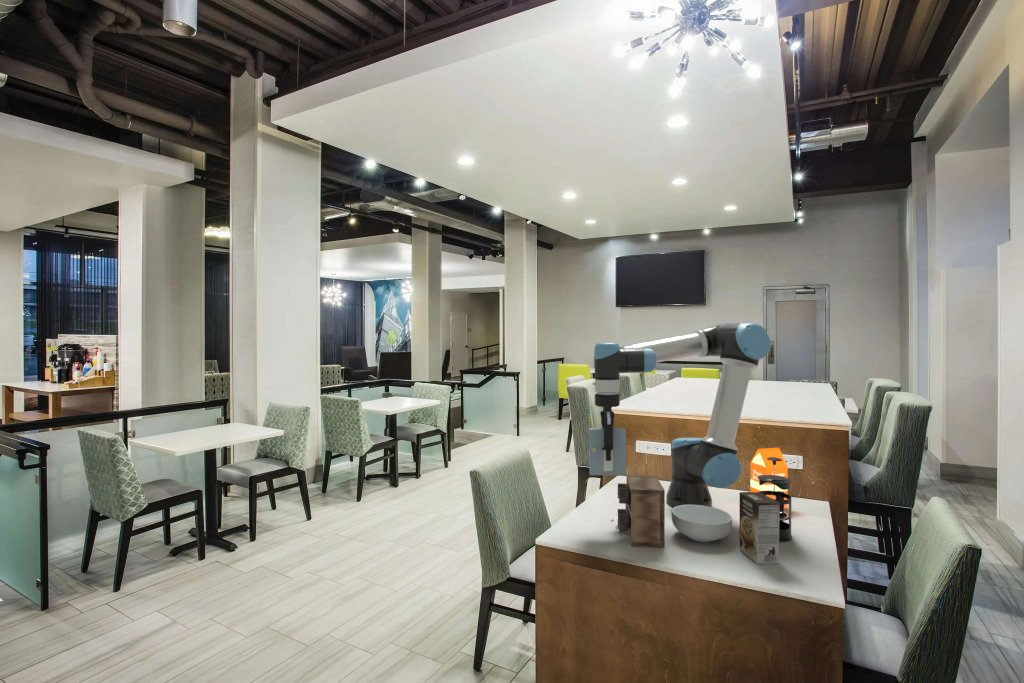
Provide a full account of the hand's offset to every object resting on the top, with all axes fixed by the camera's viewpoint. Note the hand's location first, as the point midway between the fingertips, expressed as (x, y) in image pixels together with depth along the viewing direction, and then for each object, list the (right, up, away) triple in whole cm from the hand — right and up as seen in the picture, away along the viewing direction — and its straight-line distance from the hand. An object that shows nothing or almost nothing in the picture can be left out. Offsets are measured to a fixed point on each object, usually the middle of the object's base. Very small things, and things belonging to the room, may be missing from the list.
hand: (607, 469), depth 158 cm
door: (0, -2, 0) cm, 2 cm away
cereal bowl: (+26, -18, -7) cm, 33 cm away
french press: (+48, -18, -5) cm, 52 cm away
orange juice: (+60, -18, +20) cm, 65 cm away
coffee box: (+37, -19, -20) cm, 46 cm away
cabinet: (+8, -18, -6) cm, 21 cm away
